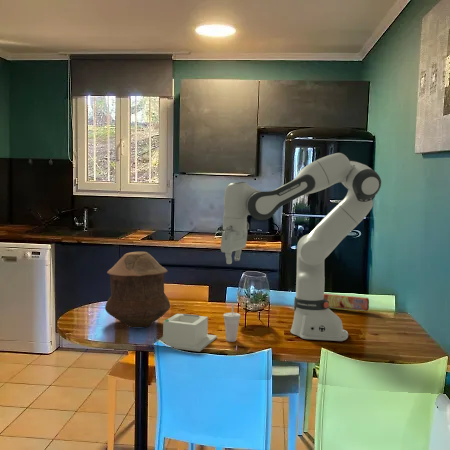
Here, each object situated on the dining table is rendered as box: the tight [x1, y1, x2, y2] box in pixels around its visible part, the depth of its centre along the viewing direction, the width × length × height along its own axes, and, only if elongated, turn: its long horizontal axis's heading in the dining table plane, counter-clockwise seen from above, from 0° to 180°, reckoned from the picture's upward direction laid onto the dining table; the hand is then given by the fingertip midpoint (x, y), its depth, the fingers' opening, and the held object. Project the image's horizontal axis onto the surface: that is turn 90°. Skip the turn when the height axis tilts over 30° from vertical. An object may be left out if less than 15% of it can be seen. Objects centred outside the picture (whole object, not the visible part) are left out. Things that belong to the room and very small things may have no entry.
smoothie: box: [222, 302, 241, 343], centre depth 193 cm, size 6×6×14 cm
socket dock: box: [151, 313, 218, 352], centre depth 191 cm, size 18×18×9 cm
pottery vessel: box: [104, 251, 171, 328], centre depth 208 cm, size 26×26×30 cm
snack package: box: [324, 292, 370, 312], centre depth 246 cm, size 21×7×7 cm, turn 71°
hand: (233, 262), depth 195 cm, fingers open, 8 cm apart
